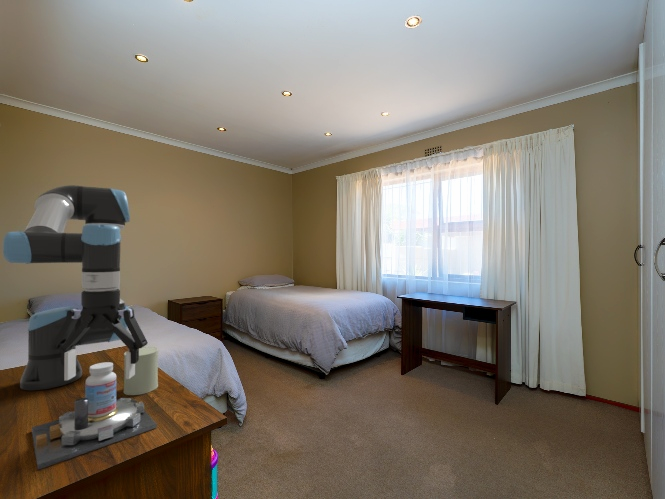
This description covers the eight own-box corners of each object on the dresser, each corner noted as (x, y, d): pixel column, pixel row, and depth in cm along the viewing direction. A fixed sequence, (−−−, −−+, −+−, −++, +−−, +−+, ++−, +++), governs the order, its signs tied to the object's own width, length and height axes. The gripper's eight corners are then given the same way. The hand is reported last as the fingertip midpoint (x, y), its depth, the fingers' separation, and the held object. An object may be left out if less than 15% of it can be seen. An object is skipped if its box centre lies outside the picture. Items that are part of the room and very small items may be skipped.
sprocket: (26, 443, 68) (26, 406, 68) (93, 404, 86) (93, 374, 86) (108, 446, 67) (109, 408, 68) (158, 405, 85) (159, 376, 86)
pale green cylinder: (127, 385, 102) (127, 347, 102) (160, 381, 105) (160, 344, 105) (119, 397, 93) (120, 355, 93) (155, 392, 96) (156, 352, 97)
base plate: (31, 431, 75) (31, 422, 75) (134, 401, 90) (134, 394, 90) (37, 470, 62) (37, 458, 62) (156, 427, 77) (156, 418, 77)
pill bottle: (100, 420, 74) (100, 370, 74) (78, 417, 75) (78, 368, 75) (122, 407, 79) (122, 362, 80) (101, 405, 81) (102, 360, 81)
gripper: (31, 291, 72) (31, 385, 72) (148, 291, 75) (147, 382, 75) (56, 286, 80) (56, 372, 80) (162, 287, 82) (161, 370, 82)
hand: (100, 377), depth 77 cm, fingers open, 13 cm apart
